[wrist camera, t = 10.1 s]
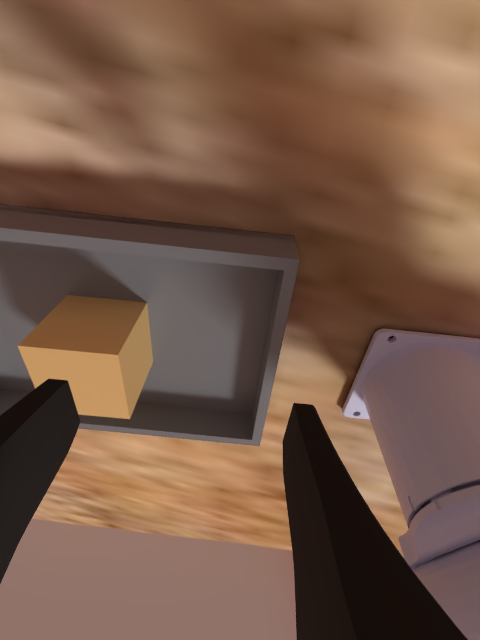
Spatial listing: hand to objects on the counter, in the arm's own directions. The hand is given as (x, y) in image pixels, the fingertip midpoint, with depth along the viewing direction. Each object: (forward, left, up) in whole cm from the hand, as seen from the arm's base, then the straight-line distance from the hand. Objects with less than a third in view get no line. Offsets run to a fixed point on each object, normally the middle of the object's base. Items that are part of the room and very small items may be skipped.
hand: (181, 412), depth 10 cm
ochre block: (+6, +4, -9) cm, 11 cm away
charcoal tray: (+6, +4, -9) cm, 12 cm away
